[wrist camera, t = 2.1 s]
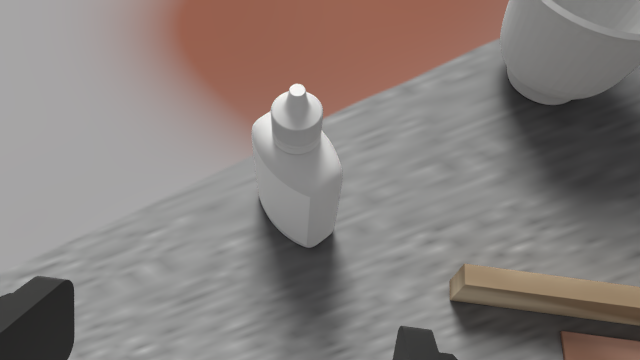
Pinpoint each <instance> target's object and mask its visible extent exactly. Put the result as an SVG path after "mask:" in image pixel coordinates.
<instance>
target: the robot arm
mask: <svg viewBox="0 0 640 360" xmlns="http://www.w3.org/2000/svg"><path fill="white" fill-rule="evenodd" d="M73 343H74V287H73V284H72V282H71V281H70V280H65V279H57V278H50V277H43V276H37V277H34V278H33V279H31V280H30V281H29V282H27V283H26V284H25V285H23V286H22V287H20V288H19V289H18V290H16V291H15V292H14V293H9V294H6V295H4V296H1V297H0V360H67V359H68V357H69V355H70V353H71V350H72V347H73ZM393 360H457V359H456V357H455V356H454V355H453V354H447V353H439V351H438V348H437V345H436V342H435V338H434V335H433V332H432V330H428V329H421V328H413V327H406V326H400V328H399V330H398V334H397V340H396V345H395V350H394V356H393Z"/></svg>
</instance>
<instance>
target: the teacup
mask: <svg viewBox="0 0 640 360" xmlns="http://www.w3.org/2000/svg"><path fill="white" fill-rule="evenodd" d="M500 46H501V52H502V56H503V59H504V61H505V63H506V65H507V75H508V78H509V81H510V82H511V84H512V86H513V87H514V88H515V89H516V90H517V91H518V92H519V93H521V94H522V95H523V96H525V97H526V98H528V99H530V100H532V101H535V102H537V103H541V104H545V105H559V104H564V103H566V102H569V101H570V100H574V99H583V98H588V97H592V96H594V95H597V94H600V93H602V92H604V91H606V90H608V89H609V88H611V87H613V86H614V85H615V84H617V83H618V82H619V81H621V80H622V79H623V78H625V77H626V76H627V75H628V74H630V73H631V72H632V71H633V70H634V69H635V68H636V67H637V66H639V65H640V0H509V3H508V6H507V9H506V12H505V16H504V20H503V24H502V28H501V36H500Z"/></svg>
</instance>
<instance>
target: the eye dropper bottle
mask: <svg viewBox="0 0 640 360" xmlns="http://www.w3.org/2000/svg"><path fill="white" fill-rule="evenodd" d="M322 119H323V109H322V105H321V103H320V101H318V99H317V98H316V97H315V96H313V95H312V94H310V93H308V92H306V91H305V88H304V86H302V85H300V84H295V85H292V86H291V87H290V89H289V92H286V93H283V94H281V95H280V96H279V97H277V99H275V101H274V103H273V105H272V107H271V111H270V112H269V113H267V114H265V115H264V116H262V117H261V118H259V119H258V120H257V121H256V122H255V123H254V125H253V127H252V145H253V154H254V163H255V171H256V180H257V188H258V194H259V198H260V201H261V204H262V206H263V208H264V210H265V212H266V214H267V216H268V217H269V219H270V220H271V222H272V223H273V224H274V225H275V227H276V228H277V229H278V230H279V231H280V232H281V233H283V234H284V235H285V236H286V237H288V238H289V239H291V240H292V241H294V242H295V243H297V244H299V245H301V246H304V247H308V248H311V247H314V246H316V245H317V244H319V243H320V242H321V241H322V240H324V239H325V238H326V237H328V236H329V235H330V234H331V233H332V232H333V230H334V226H335V221H336V215H337V210H338V204H339V198H340V192H341V186H342V177H343V171H342V167H341V163H340V160H339V158H338V155H337V153H336V151H335V149H334V147H333V145H332V144H331V142H330V140H329V139H328V137H327V136H326V135H325V134H324V132H323V131H322Z"/></svg>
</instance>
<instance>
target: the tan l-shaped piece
mask: <svg viewBox="0 0 640 360" xmlns="http://www.w3.org/2000/svg"><path fill="white" fill-rule="evenodd" d="M450 300H452V301H459V302H467V303H474V304H482V305H489V306H496V307H504V308H511V309H519V310H526V311H533V312H541V313H548V314H556V315H563V316H571V317H578V318H585V319H593V320H600V321H608V322H615V323H623V324H630V325H637V326H640V287H635V286H628V285H621V284H613V283H606V282H598V281H591V280H583V279H576V278H568V277H561V276H553V275H546V274H538V273H531V272H523V271H516V270H508V269H501V268H493V267H486V266H478V265H471V264H464V265H463V266H462V267H461V268H460V270H459V271H458V272H457V273H456V274H455V275H454V277H453V278H452V279H451V280H450ZM561 340H562V348H563V357H564V360H640V341H632V340H625V339H617V338H610V337H603V336H595V335H588V334H580V333H573V332H566V331H561Z"/></svg>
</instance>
